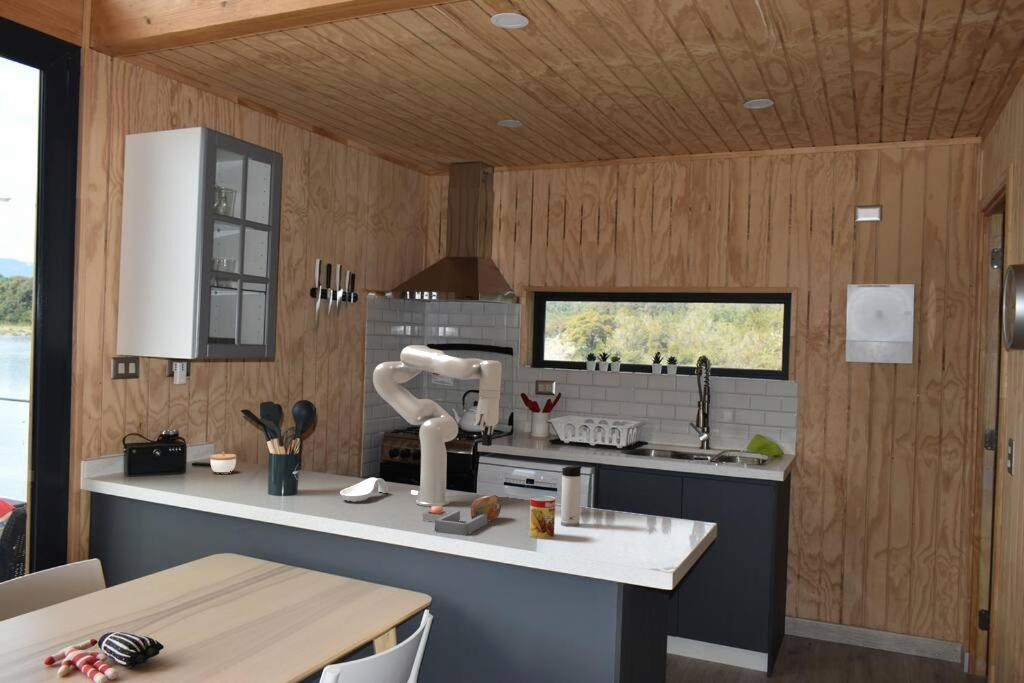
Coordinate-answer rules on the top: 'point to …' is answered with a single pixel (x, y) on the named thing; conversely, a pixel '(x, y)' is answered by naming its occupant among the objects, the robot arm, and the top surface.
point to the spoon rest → (363, 489)
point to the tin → (486, 507)
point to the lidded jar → (223, 462)
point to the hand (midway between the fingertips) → (486, 445)
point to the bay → (452, 526)
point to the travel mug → (570, 496)
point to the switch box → (434, 516)
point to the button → (437, 510)
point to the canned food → (542, 517)
